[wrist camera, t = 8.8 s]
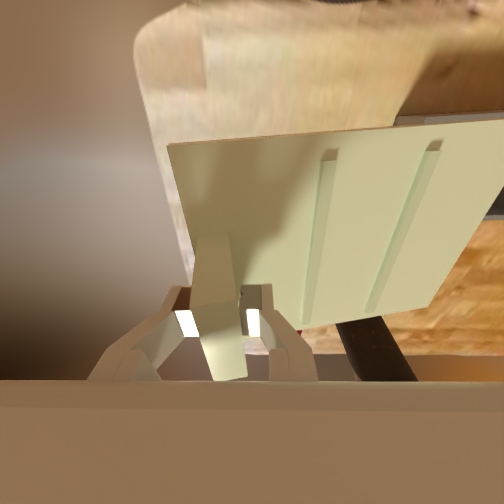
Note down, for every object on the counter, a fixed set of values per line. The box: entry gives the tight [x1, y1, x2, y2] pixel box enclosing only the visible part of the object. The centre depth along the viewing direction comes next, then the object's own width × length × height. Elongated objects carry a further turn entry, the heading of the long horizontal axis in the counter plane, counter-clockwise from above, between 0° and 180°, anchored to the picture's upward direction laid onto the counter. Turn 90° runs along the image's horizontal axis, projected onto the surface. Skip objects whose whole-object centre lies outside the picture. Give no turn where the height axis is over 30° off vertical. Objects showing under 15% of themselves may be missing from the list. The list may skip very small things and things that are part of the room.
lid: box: [166, 118, 504, 381], centre depth 11 cm, size 17×13×6 cm
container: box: [335, 316, 419, 382], centre depth 36 cm, size 9×9×20 cm
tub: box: [393, 109, 504, 221], centre depth 26 cm, size 16×12×6 cm
